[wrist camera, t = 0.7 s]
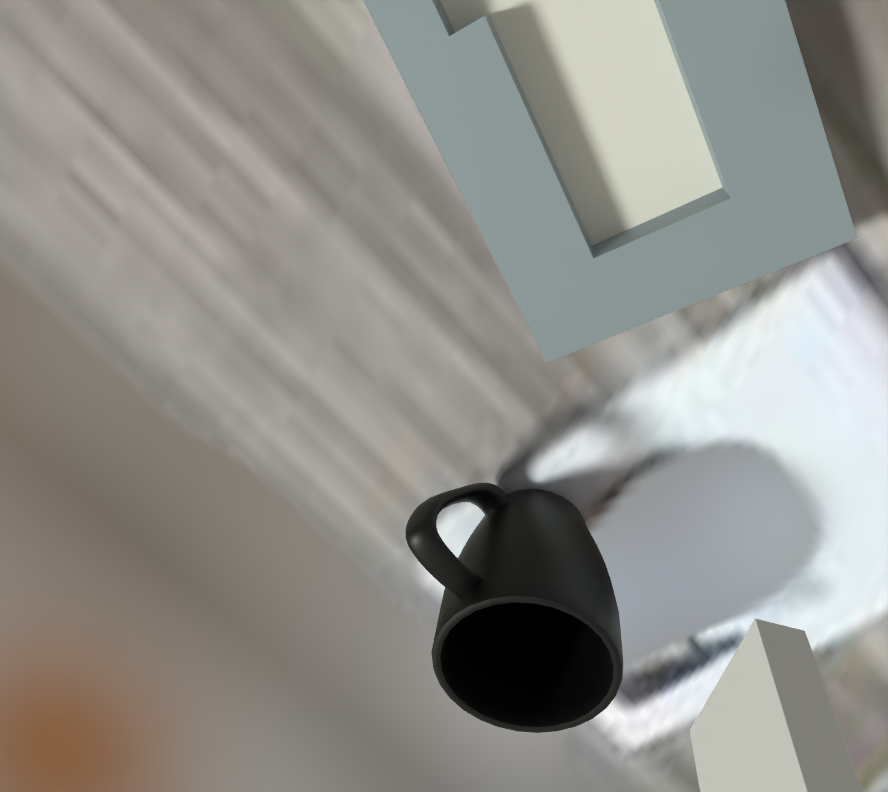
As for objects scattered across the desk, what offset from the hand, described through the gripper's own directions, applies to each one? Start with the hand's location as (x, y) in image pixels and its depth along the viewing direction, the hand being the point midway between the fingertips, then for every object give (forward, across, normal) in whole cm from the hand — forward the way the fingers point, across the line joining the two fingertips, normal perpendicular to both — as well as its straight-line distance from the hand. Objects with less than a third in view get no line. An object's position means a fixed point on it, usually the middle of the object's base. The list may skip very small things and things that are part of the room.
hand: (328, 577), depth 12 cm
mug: (+24, +6, -16) cm, 29 cm away
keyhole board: (+24, +2, +8) cm, 25 cm away
